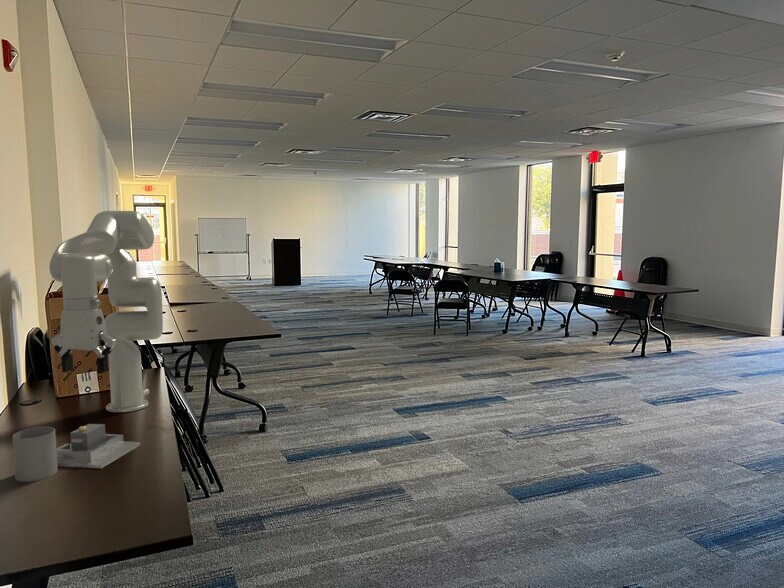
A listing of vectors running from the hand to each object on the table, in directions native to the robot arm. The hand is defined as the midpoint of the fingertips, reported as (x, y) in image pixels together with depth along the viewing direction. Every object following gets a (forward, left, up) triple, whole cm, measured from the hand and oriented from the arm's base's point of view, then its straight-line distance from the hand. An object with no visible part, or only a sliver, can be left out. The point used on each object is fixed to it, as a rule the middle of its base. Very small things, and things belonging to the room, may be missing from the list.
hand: (85, 371), depth 144 cm
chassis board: (0, 0, -21) cm, 21 cm away
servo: (0, 0, -21) cm, 21 cm away
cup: (+13, -4, -22) cm, 26 cm away
